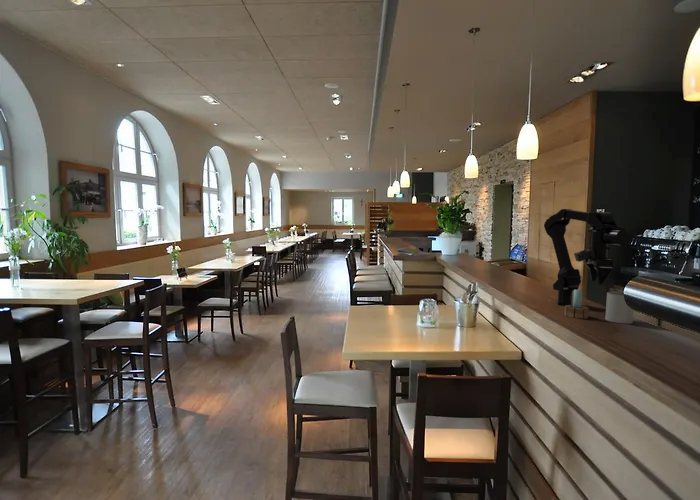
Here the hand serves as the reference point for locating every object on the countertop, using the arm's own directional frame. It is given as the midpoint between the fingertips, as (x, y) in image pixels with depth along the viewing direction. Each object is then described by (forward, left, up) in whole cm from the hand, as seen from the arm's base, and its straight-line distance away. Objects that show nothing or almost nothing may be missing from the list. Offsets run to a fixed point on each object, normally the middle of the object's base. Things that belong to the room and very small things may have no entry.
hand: (596, 282), depth 162 cm
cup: (+12, +5, -12) cm, 18 cm away
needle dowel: (+10, -9, -12) cm, 18 cm away
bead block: (+10, -9, -12) cm, 18 cm away
